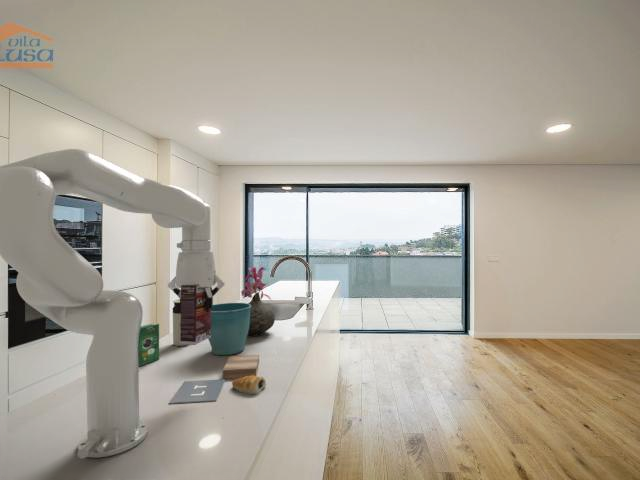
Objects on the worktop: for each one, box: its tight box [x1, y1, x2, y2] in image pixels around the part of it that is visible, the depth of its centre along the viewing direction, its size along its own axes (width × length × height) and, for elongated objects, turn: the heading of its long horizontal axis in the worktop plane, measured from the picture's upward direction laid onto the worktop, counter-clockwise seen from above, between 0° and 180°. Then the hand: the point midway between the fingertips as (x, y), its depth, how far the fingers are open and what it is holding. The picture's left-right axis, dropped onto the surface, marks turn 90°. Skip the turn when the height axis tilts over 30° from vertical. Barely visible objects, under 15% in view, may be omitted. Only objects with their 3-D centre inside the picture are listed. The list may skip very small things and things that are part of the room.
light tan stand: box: [222, 354, 260, 379], centre depth 114 cm, size 13×10×2 cm
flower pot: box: [207, 302, 251, 356], centre depth 135 cm, size 18×18×17 cm
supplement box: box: [180, 285, 211, 346], centre depth 98 cm, size 9×5×16 cm, turn 169°
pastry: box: [231, 375, 267, 395], centre depth 100 cm, size 9×7×4 cm
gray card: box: [168, 378, 226, 405], centre depth 99 cm, size 14×12×1 cm
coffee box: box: [138, 322, 160, 367], centre depth 123 cm, size 8×3×13 cm, turn 156°
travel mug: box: [172, 298, 186, 347], centre depth 146 cm, size 8×8×18 cm
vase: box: [240, 266, 276, 336], centre depth 159 cm, size 17×17×30 cm
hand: (196, 311), depth 98 cm, fingers closed on supplement box, 5 cm apart
